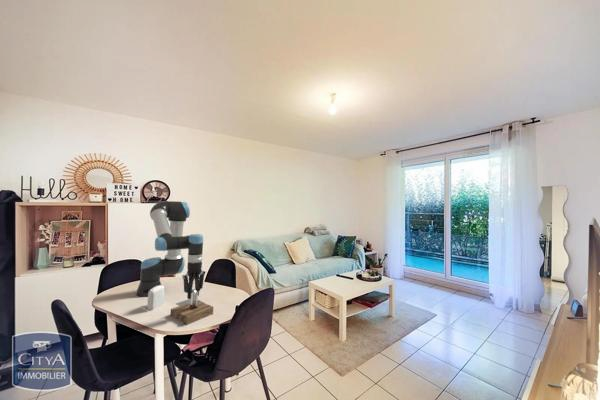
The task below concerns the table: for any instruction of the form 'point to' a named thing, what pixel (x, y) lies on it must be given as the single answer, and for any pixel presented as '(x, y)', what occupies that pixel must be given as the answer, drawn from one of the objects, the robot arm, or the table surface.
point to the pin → (193, 299)
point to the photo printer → (155, 297)
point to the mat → (184, 302)
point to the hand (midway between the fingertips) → (192, 303)
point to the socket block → (191, 312)
